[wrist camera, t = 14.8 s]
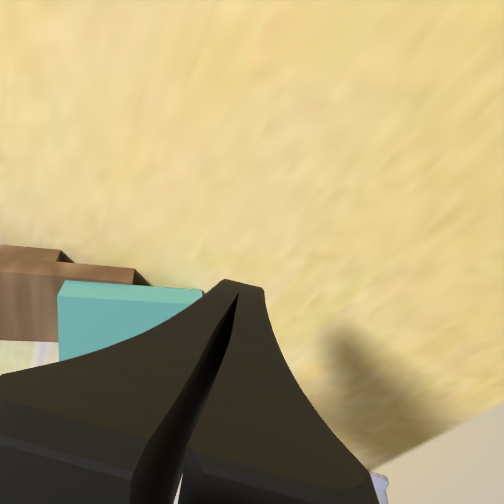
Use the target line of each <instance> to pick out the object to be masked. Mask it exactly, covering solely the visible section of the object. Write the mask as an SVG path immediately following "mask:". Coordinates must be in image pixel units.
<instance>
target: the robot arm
mask: <svg viewBox="0 0 504 504" xmlns="http://www.w3.org/2000/svg"><path fill="white" fill-rule="evenodd" d="M182 473H183V476H182ZM181 477H182V482H181V488H180V494H179V500H178V504H388V500H387V495H386V488H387V486H388V484H389V483H388V479H387V477H386V476H384V475H380V474H377V473H373V472H369V471H368V470H367V469H366V468H365V467H364V466H363V465H362V464H361V463H360V462H359V461H358V460H357V458H356V457H355V456H354V455H353V454H352V453H351V452H350V451H349V450H348V449H347V448H346V447H345V445H344V444H343V443H342V442H341V441H340V440H339V439H338V438H337V437H336V436H335V434H334V433H333V432H332V431H331V429H330V428H329V427H328V426H327V424H326V423H325V422H324V421H323V419H322V418H321V417H320V416H319V414H318V413H317V412H316V410H315V409H314V407H313V406H312V404H311V403H310V401H309V400H308V399H307V397H306V396H305V394H304V393H303V391H302V390H301V388H300V386H299V385H298V383H297V381H296V380H295V378H294V376H293V374H292V373H291V371H290V369H289V367H288V365H287V363H286V361H285V359H284V357H283V355H282V353H281V350H280V348H279V345H278V343H277V341H276V338H275V335H274V333H273V330H272V327H271V323H270V320H269V317H268V313H267V309H266V304H265V296H264V290H263V289H262V288H260V287H256V286H252V285H248V284H244V283H240V282H236V281H231V280H227V279H224V280H222V281H220V282H219V283H218V284H217V285H216V286H214V287H213V288H212V289H211V290H210V291H208V292H207V293H206V294H205V295H203V296H202V297H201V298H199V299H198V300H197V301H195V302H194V303H192V304H191V305H190V306H188V307H187V308H185V309H184V310H182V311H180V312H179V313H177V314H176V315H174V316H173V317H171V318H169V319H168V320H166V321H164V322H162V323H161V324H159V325H157V326H155V327H153V328H151V329H149V330H147V331H145V332H143V333H141V334H139V335H136V336H134V337H131V338H129V339H126V340H124V341H121V342H119V343H116V344H114V345H111V346H109V347H106V348H103V349H100V350H97V351H94V352H91V353H88V354H84V355H81V356H78V357H74V358H71V359H67V360H63V361H60V362H56V363H52V364H47V365H43V366H38V367H34V368H29V369H25V370H20V371H16V372H11V373H6V374H2V375H1V376H0V504H173V502H174V499H175V496H176V493H177V489H178V486H179V483H180V480H181Z"/></svg>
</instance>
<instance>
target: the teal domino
mask: <svg viewBox="0 0 504 504" xmlns="http://www.w3.org/2000/svg"><path fill="white" fill-rule="evenodd" d="M201 297H202V290H194V289H180V288H166V287H153V286H139V285H125V284H111V283H98V282H84V281H70V280H65V282H64V284H63V286H62V287H61V289H60V291H59V293H58V295H57V308H58V339H59V362H60V361H63V360H67V359H71V358H74V357H78V356H81V355H84V354H88V353H91V352H94V351H97V350H100V349H103V348H106V347H109V346H111V345H114V344H116V343H119V342H121V341H124V340H126V339H129V338H131V337H134V336H136V335H139V334H141V333H143V332H145V331H147V330H149V329H151V328H153V327H155V326H157V325H159V324H161V323H162V322H164V321H166V320H168V319H169V318H171V317H173V316H174V315H176V314H177V313H179V312H180V311H182V310H184V309H185V308H187V307H188V306H190V305H191V304H192V303H194V302H195V301H197V300H198V299H199V298H201Z"/></svg>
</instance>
